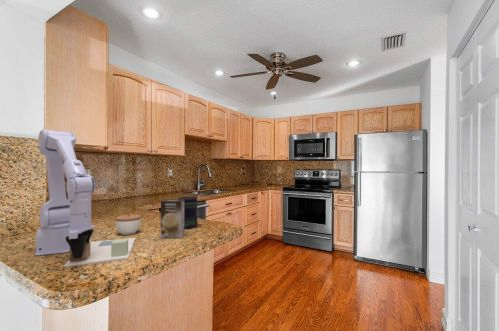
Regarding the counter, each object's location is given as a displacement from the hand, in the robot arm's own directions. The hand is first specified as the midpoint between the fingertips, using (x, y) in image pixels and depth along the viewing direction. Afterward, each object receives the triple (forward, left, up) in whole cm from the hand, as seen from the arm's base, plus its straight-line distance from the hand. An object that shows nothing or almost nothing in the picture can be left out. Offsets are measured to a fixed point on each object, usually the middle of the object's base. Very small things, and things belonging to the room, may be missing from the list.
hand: (80, 255), depth 77 cm
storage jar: (+37, +33, -2) cm, 50 cm away
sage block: (+11, 0, -1) cm, 12 cm away
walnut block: (0, 0, -1) cm, 1 cm away
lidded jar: (+10, +31, -2) cm, 33 cm away
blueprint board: (+6, +8, -2) cm, 10 cm away
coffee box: (+29, +18, -2) cm, 35 cm away
